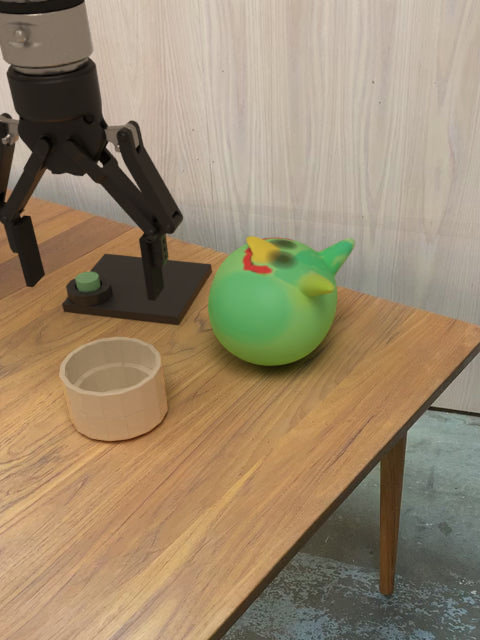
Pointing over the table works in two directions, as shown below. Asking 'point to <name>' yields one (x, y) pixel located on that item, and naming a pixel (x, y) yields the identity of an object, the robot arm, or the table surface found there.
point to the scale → (138, 290)
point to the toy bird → (275, 298)
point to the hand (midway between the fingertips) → (95, 287)
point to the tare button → (87, 281)
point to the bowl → (114, 388)
